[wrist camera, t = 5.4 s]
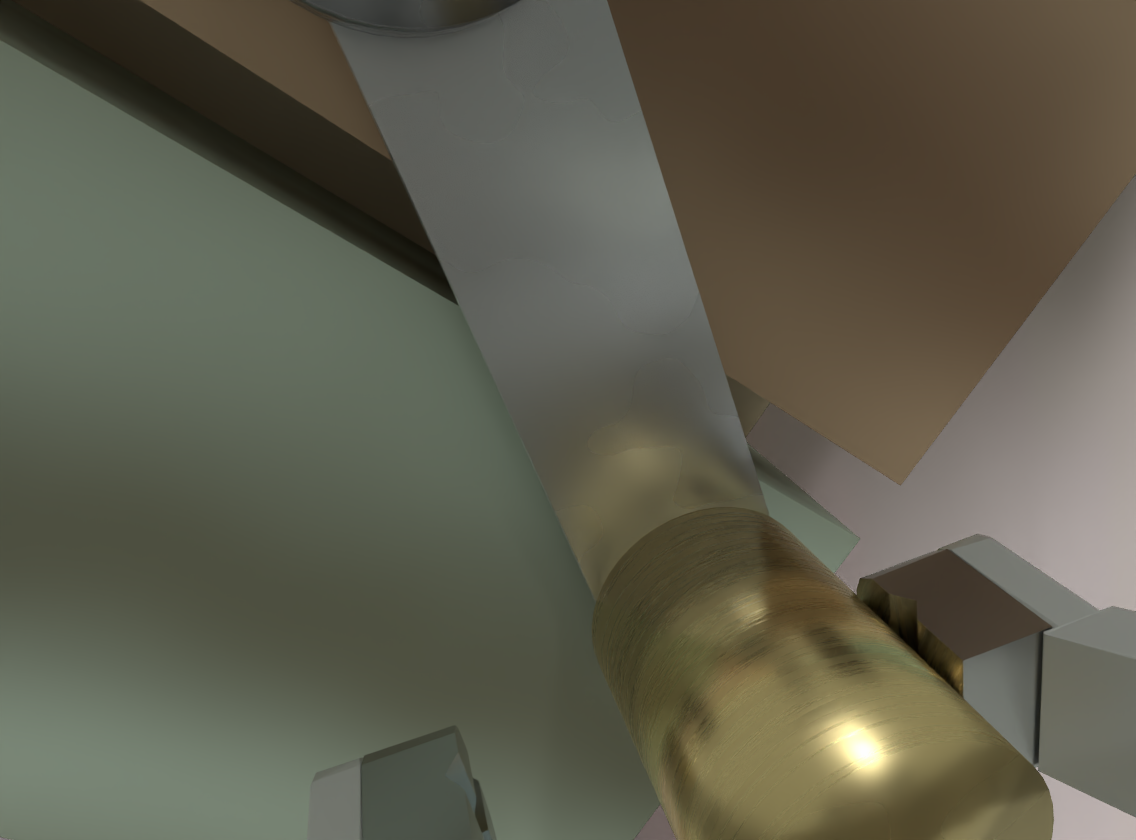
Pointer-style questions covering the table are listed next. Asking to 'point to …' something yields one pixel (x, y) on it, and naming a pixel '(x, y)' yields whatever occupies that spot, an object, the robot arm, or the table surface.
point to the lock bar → (659, 445)
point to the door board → (448, 376)
